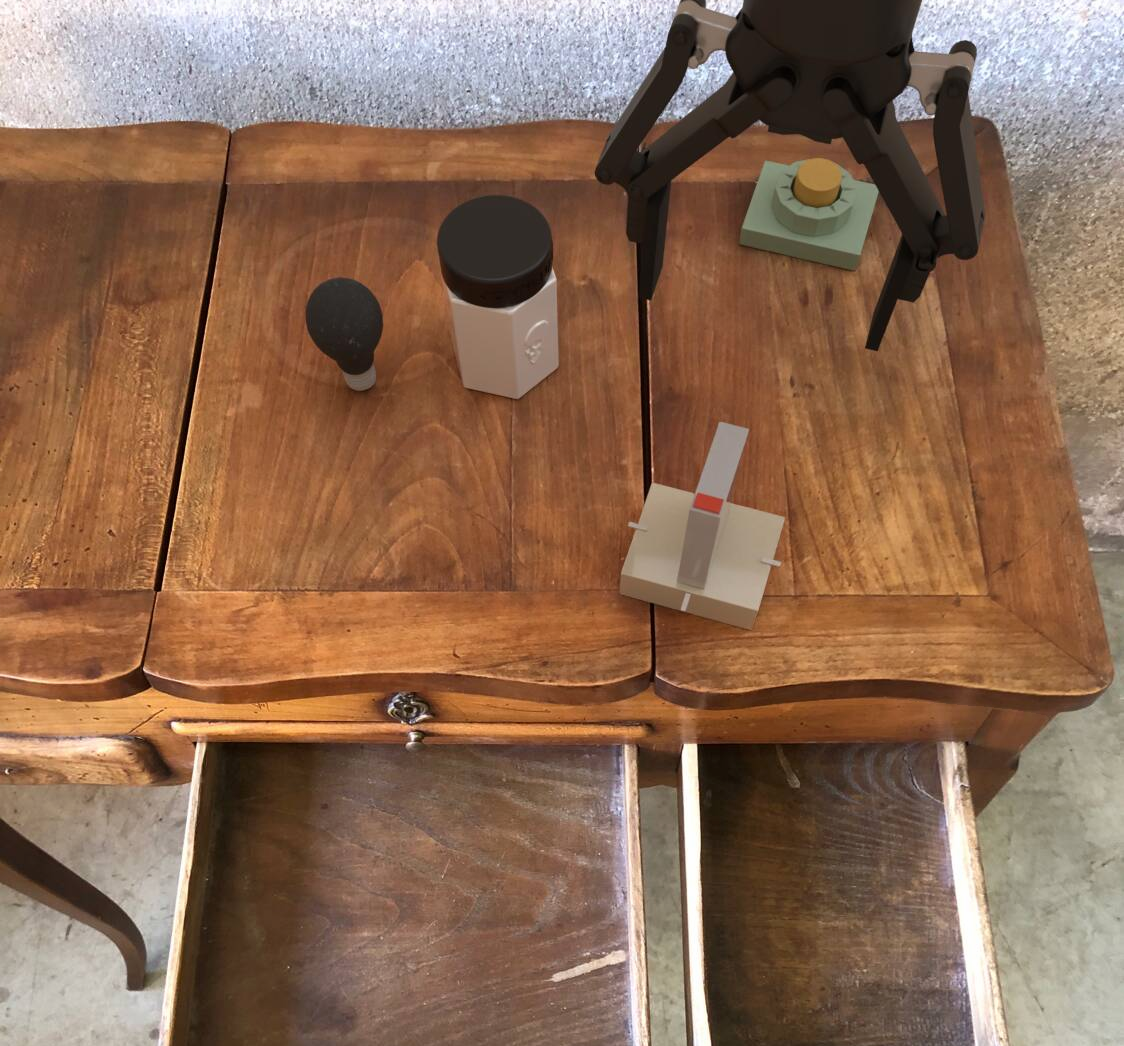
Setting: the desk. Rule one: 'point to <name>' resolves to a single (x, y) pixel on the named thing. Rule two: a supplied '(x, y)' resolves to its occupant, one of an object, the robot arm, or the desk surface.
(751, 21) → the robot arm
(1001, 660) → the desk surface
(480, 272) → the jar
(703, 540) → the tap handle
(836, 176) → the button
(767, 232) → the button block
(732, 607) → the panel
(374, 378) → the light bulb
